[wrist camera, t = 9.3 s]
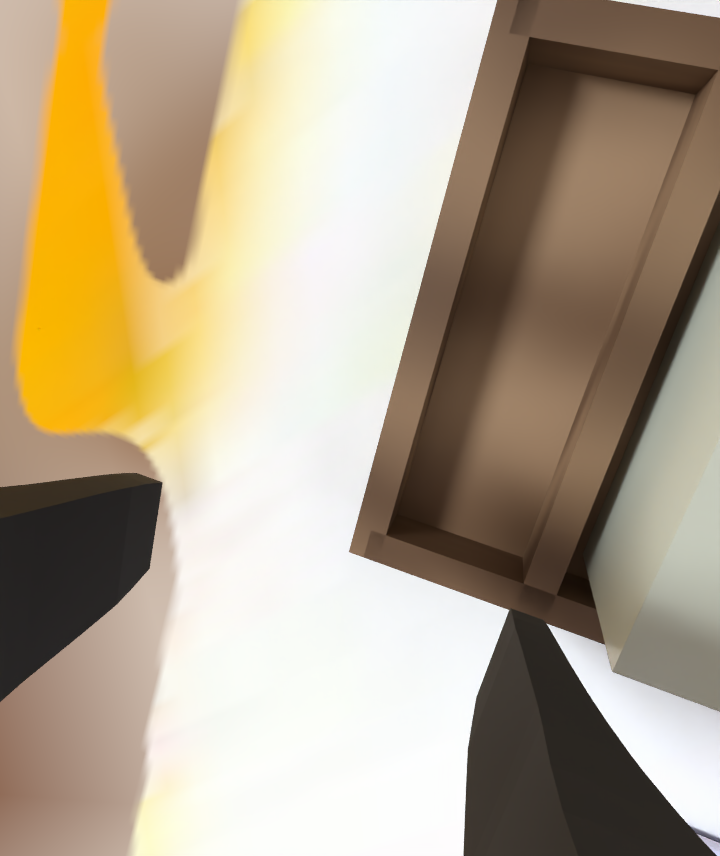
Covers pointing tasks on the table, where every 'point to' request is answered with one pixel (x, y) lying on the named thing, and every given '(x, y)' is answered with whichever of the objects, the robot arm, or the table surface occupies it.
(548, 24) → the strip rack
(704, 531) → the clay strip
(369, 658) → the table surface
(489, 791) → the robot arm
